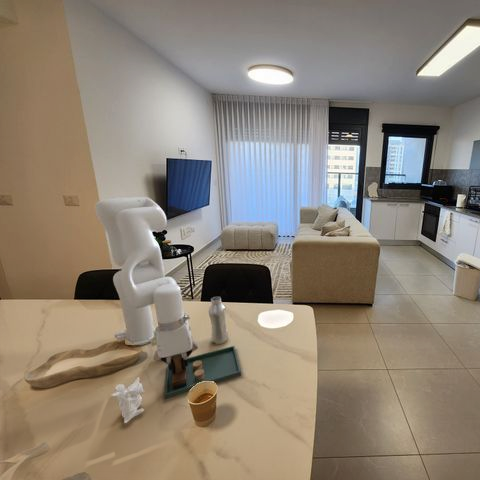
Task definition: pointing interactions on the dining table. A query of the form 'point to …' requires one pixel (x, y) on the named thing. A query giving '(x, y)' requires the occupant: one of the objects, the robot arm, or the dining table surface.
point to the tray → (207, 370)
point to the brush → (179, 373)
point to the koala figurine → (129, 399)
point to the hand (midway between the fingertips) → (179, 368)
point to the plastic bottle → (218, 321)
